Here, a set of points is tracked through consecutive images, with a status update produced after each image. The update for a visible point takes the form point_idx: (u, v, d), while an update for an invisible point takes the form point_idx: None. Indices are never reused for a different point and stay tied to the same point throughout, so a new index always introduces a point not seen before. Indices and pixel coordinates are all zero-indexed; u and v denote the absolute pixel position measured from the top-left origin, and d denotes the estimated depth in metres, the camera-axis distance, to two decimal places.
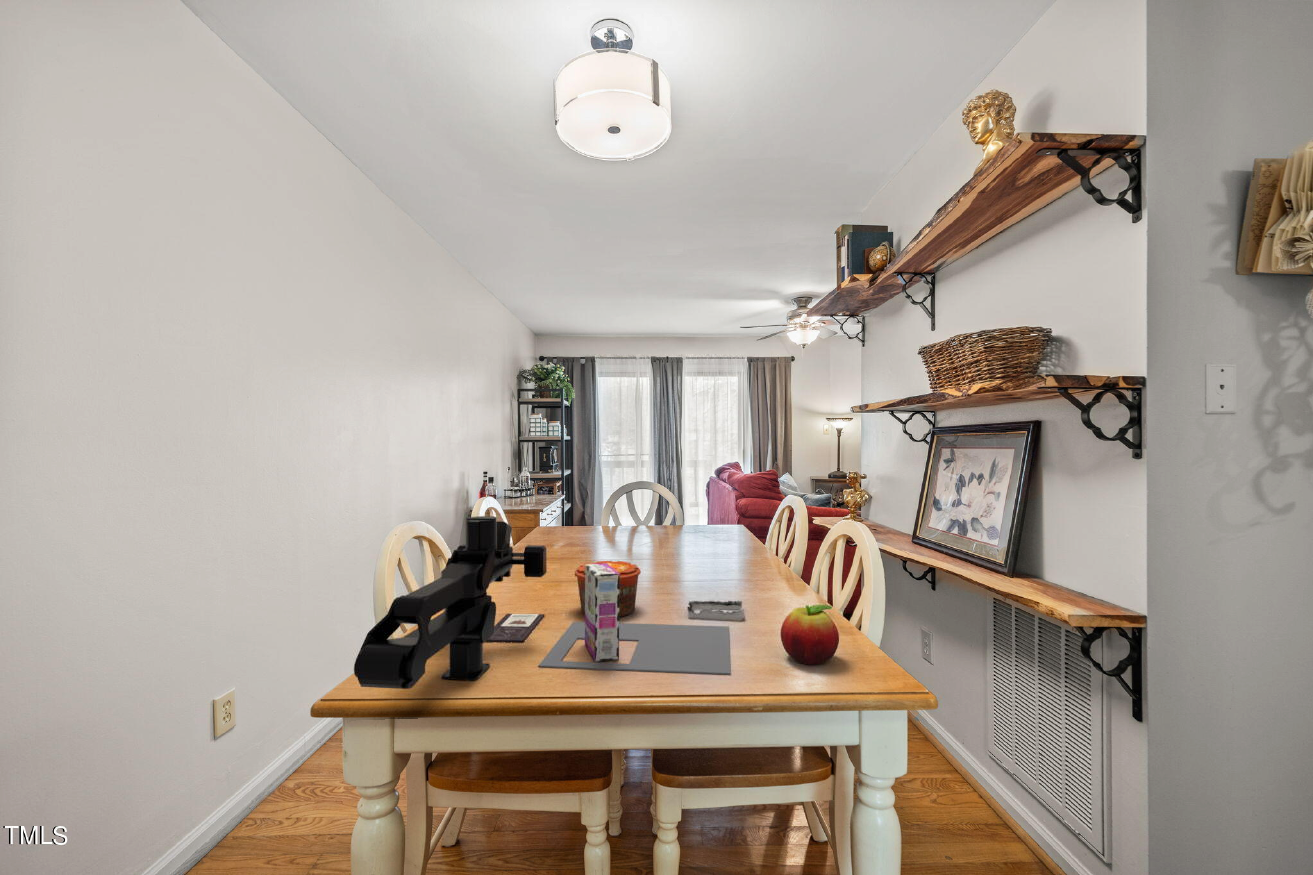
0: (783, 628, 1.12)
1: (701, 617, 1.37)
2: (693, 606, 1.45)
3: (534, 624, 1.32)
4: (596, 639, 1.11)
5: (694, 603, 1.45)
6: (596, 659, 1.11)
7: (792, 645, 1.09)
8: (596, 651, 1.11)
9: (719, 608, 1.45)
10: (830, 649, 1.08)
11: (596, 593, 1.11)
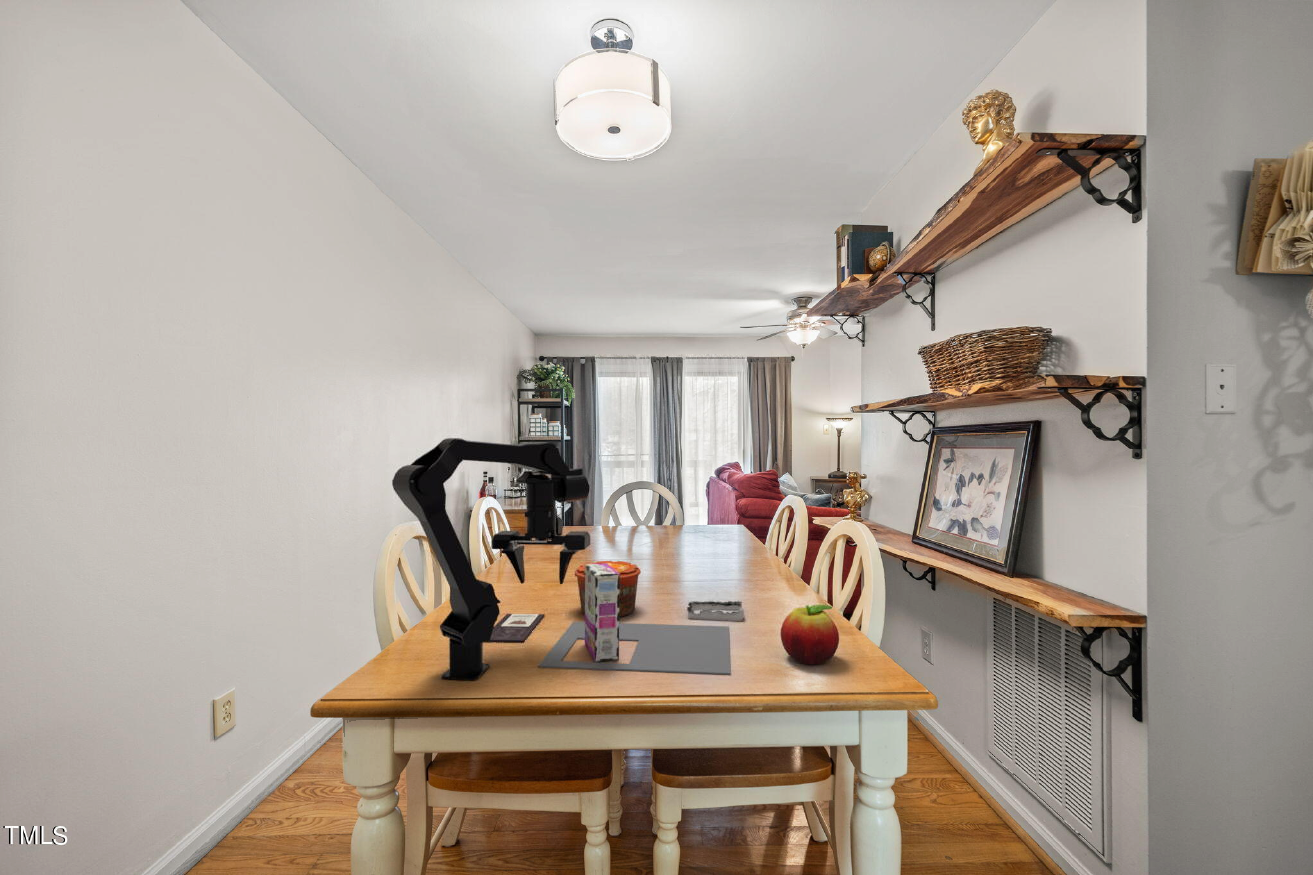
0: (783, 628, 1.12)
1: (701, 617, 1.37)
2: (693, 606, 1.45)
3: (534, 624, 1.32)
4: (596, 639, 1.11)
5: (694, 603, 1.45)
6: (596, 659, 1.11)
7: (792, 645, 1.09)
8: (596, 651, 1.11)
9: (719, 608, 1.44)
10: (830, 649, 1.08)
11: (596, 593, 1.11)
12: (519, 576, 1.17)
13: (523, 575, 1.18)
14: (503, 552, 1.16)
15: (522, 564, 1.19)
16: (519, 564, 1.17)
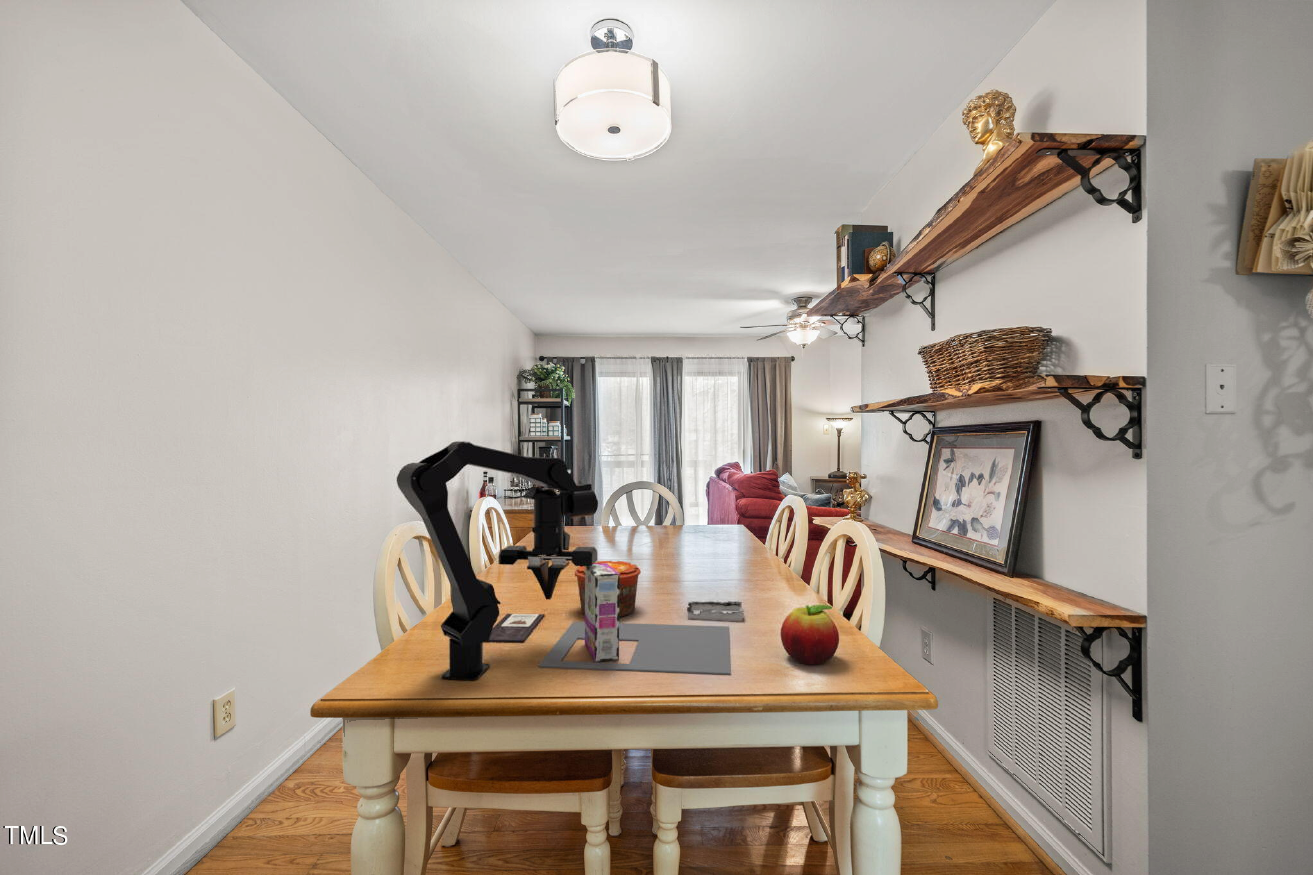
0: (783, 628, 1.12)
1: (701, 618, 1.37)
2: (692, 607, 1.44)
3: (535, 624, 1.32)
4: (596, 639, 1.11)
5: (693, 604, 1.44)
6: (596, 659, 1.11)
7: (792, 645, 1.09)
8: (596, 651, 1.11)
9: (719, 608, 1.44)
10: (830, 649, 1.08)
11: (596, 593, 1.11)
12: (544, 592, 1.17)
13: None
14: (529, 568, 1.15)
15: (547, 580, 1.18)
16: (545, 580, 1.16)
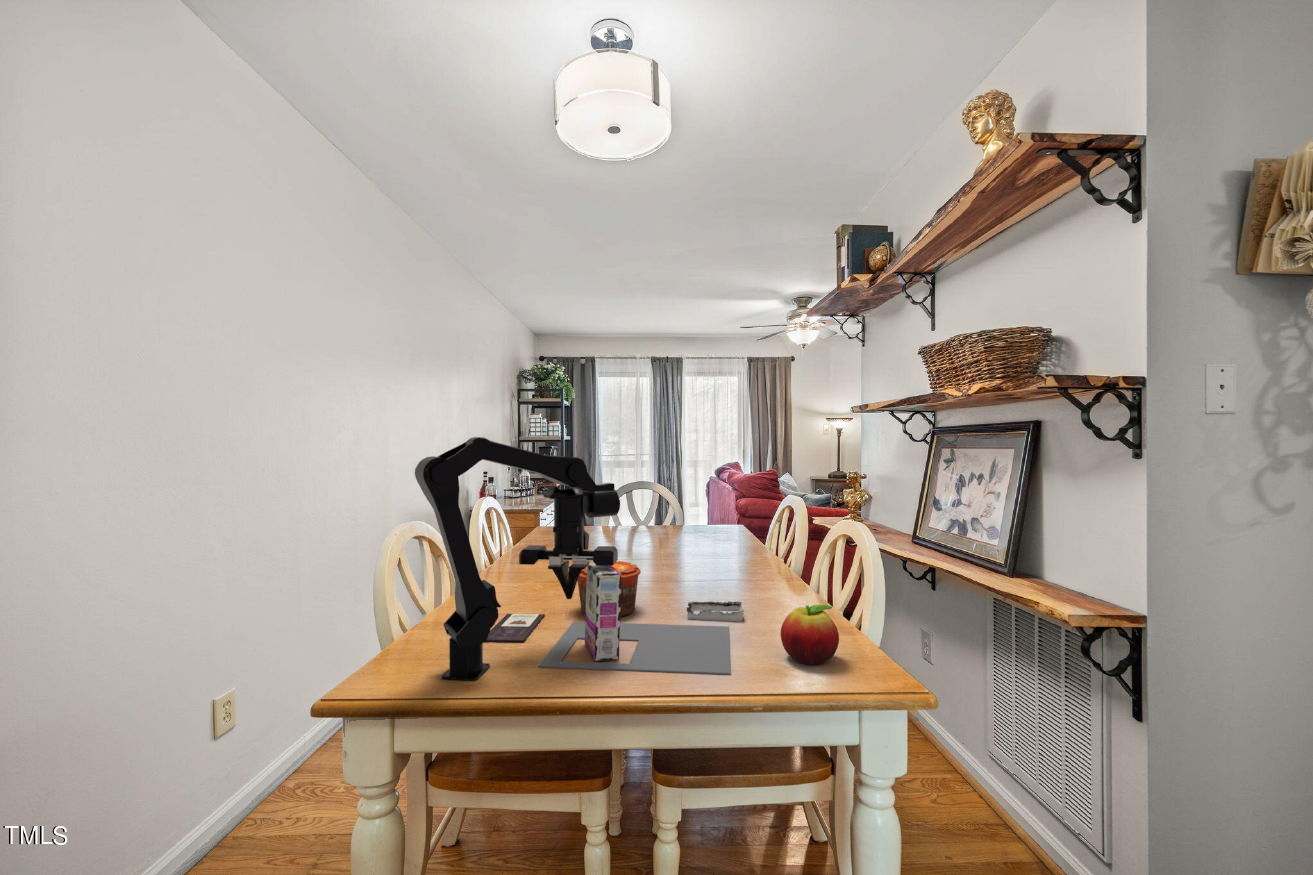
0: (783, 628, 1.12)
1: (700, 618, 1.37)
2: (692, 607, 1.44)
3: (535, 624, 1.32)
4: (597, 638, 1.11)
5: (693, 604, 1.44)
6: (596, 658, 1.11)
7: (792, 645, 1.09)
8: (596, 650, 1.11)
9: (719, 609, 1.44)
10: (830, 649, 1.08)
11: (598, 592, 1.11)
12: (565, 592, 1.16)
13: None
14: (550, 568, 1.15)
15: (568, 579, 1.18)
16: (565, 580, 1.16)
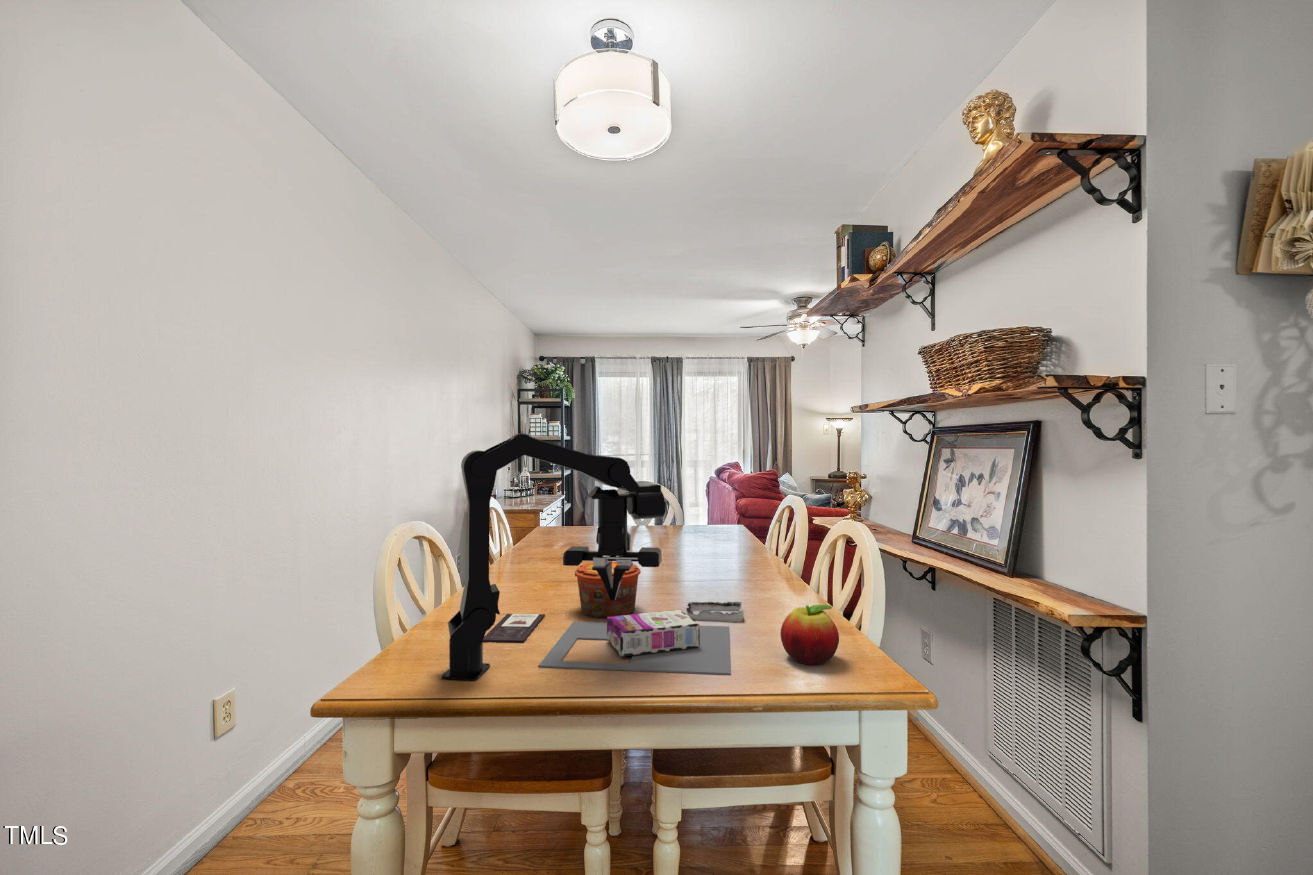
0: (783, 628, 1.12)
1: (700, 618, 1.36)
2: (692, 607, 1.44)
3: (535, 624, 1.32)
4: (641, 631, 1.13)
5: (693, 604, 1.44)
6: (623, 633, 1.12)
7: (792, 645, 1.09)
8: (630, 632, 1.13)
9: (718, 609, 1.44)
10: (830, 649, 1.08)
11: (683, 626, 1.16)
12: (609, 593, 1.15)
13: None
14: (594, 569, 1.14)
15: (611, 581, 1.17)
16: (610, 581, 1.15)
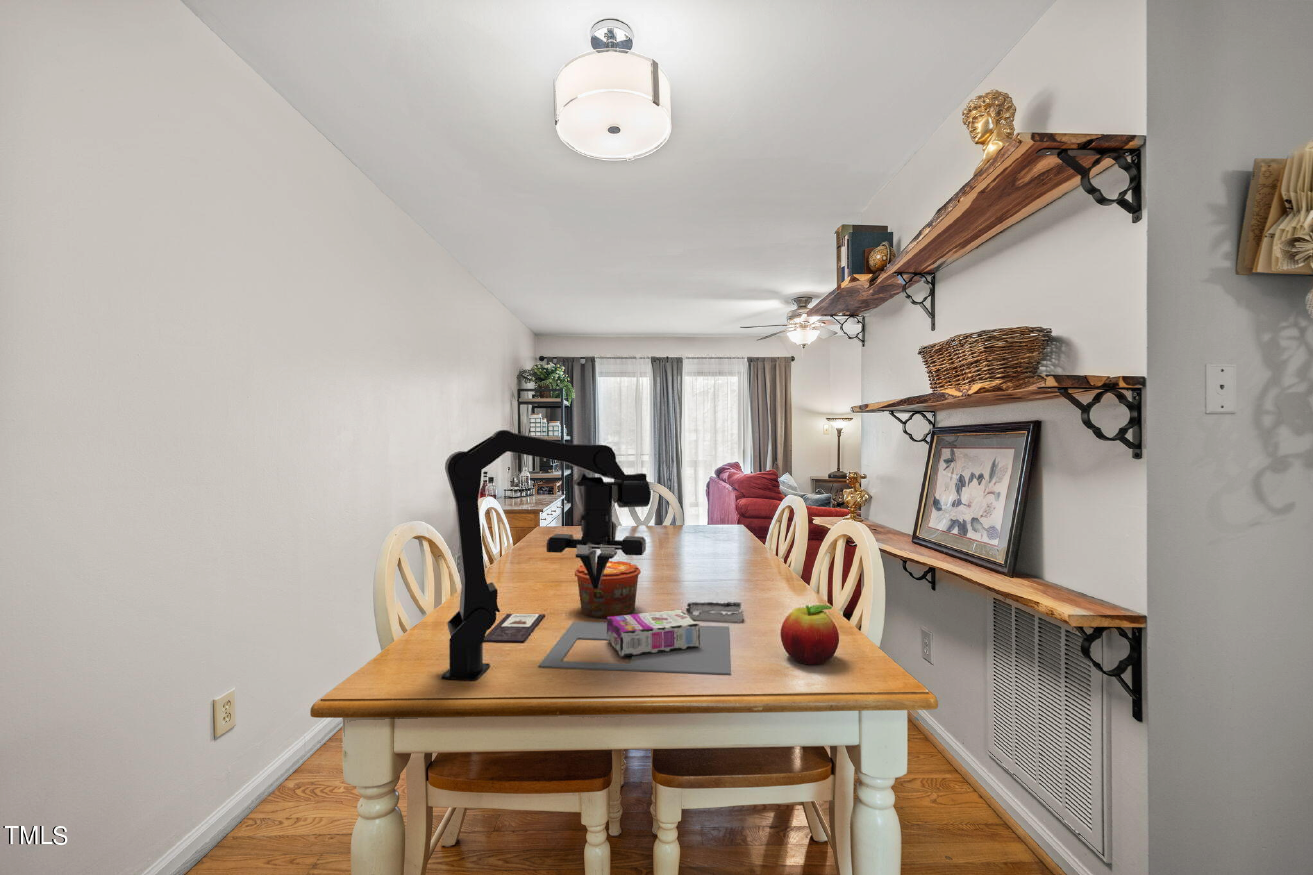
0: (783, 628, 1.12)
1: (700, 619, 1.36)
2: (692, 607, 1.44)
3: (535, 625, 1.32)
4: (641, 631, 1.13)
5: (693, 604, 1.44)
6: (623, 633, 1.12)
7: (792, 645, 1.09)
8: (630, 632, 1.13)
9: (718, 609, 1.43)
10: (830, 649, 1.08)
11: (683, 626, 1.16)
12: (592, 581, 1.15)
13: None
14: (578, 556, 1.13)
15: (595, 569, 1.16)
16: (593, 569, 1.15)
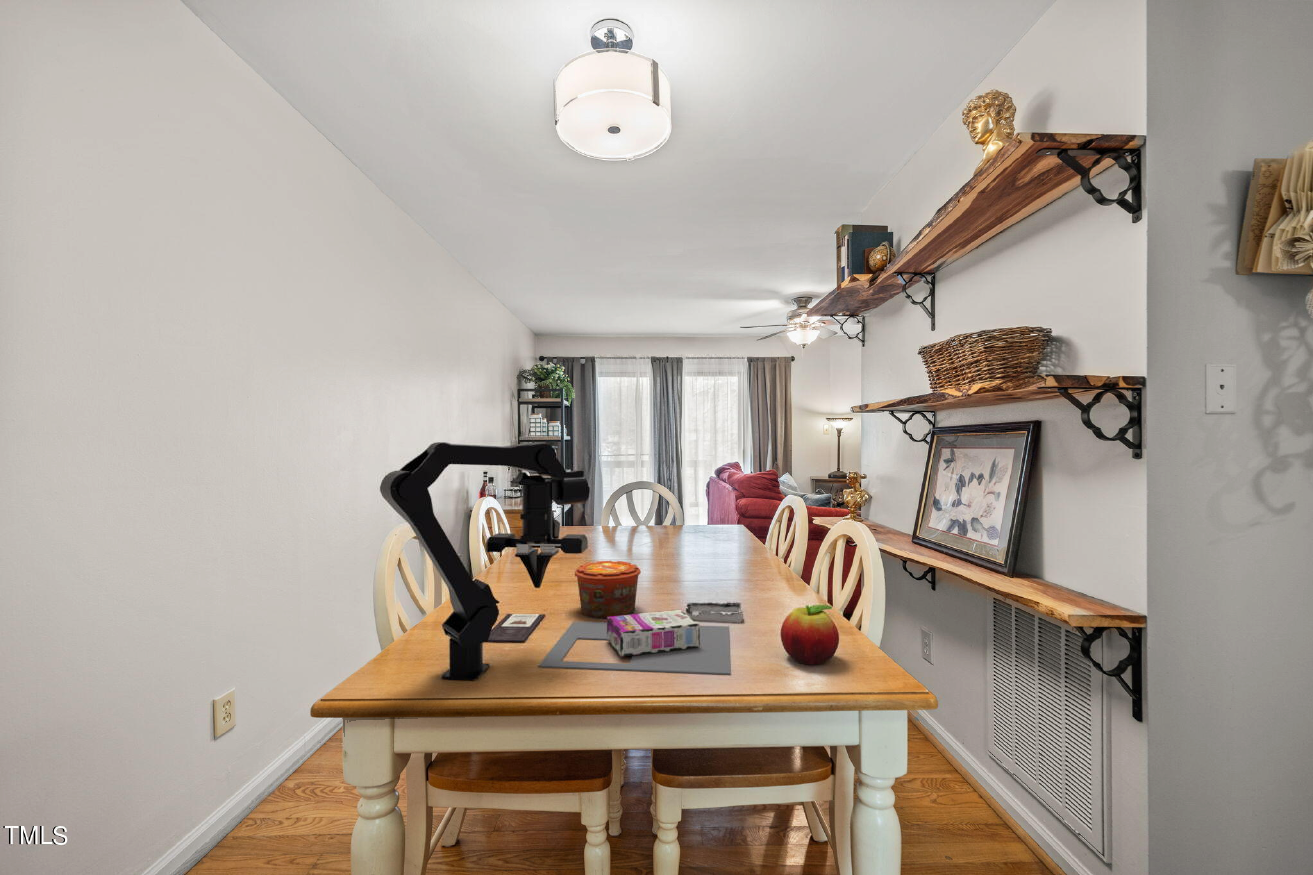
0: (783, 628, 1.12)
1: (700, 619, 1.36)
2: (691, 608, 1.43)
3: (535, 625, 1.32)
4: (641, 631, 1.13)
5: (692, 605, 1.43)
6: (623, 633, 1.12)
7: (792, 645, 1.09)
8: (630, 632, 1.13)
9: (718, 609, 1.43)
10: (830, 649, 1.08)
11: (683, 626, 1.16)
12: (533, 580, 1.14)
13: None
14: (517, 555, 1.12)
15: None
16: (533, 568, 1.14)
